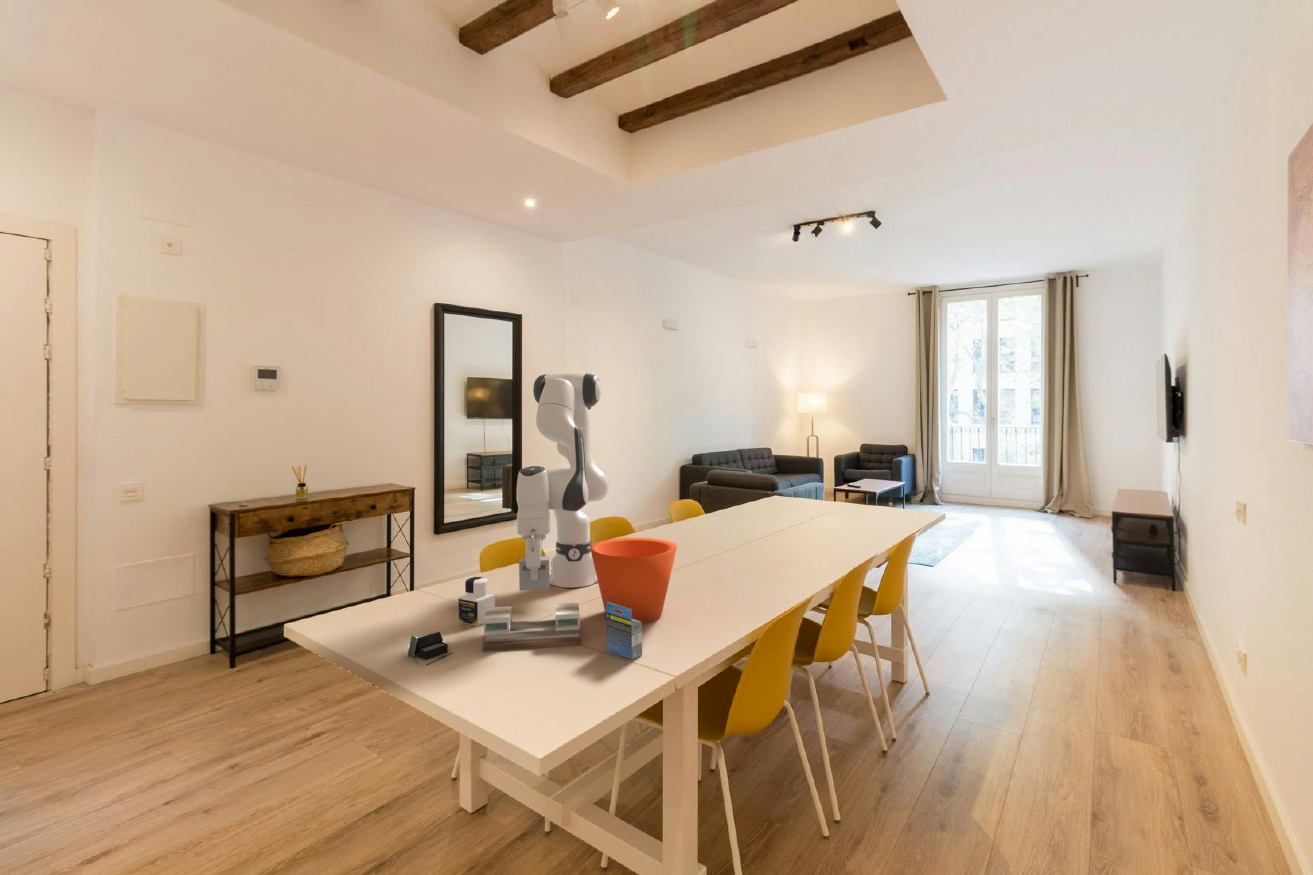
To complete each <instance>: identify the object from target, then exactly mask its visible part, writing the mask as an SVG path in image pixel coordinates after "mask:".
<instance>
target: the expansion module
mask: <svg viewBox="0 0 1313 875" xmlns="http://www.w3.org/2000/svg"><path fill="white" fill-rule="evenodd" d="M518 571H519V572H518V575H519V578H518V579H519V580H518V581H519V583H518V584H519V591H520V592H522V591H535V590H536V591H537V590H538V591H539V590H540V591H541V590H550V585H551V584H550V575H551V574H550V556H541V563H540V568H538V579H537V580H531V572H530V569H527V568H526V557H519V559H518Z"/></svg>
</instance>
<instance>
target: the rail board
mask: <svg viewBox="0 0 1313 875" xmlns="http://www.w3.org/2000/svg"><path fill="white" fill-rule="evenodd" d="M579 607H580V606H579V602H569V603H564V602H563V603H555V619H554V618H553V619H540V620H539V619H538V620H521V621H513V620H512V619H513V618H512V614H513V613H512V605H509V606H508V605H507V606H506V605H505V606H495V607H488V609H487V612H486V615H485V618H484V624H483V629H484V630H483V634H484V639H483V642H482V649H481V650H482V652H492V651H506V650H507V651H508V650H509V651H510V650H521V649H522V650H523V649H524V650H525V649H537V648H540V649H541V648H554V647H555V648H556V647H557V648H558V647H569V646H572V647H573V646H582V636H581V624H580V623H581V622H580V619H581V618H580V615H581V614H580V608H579Z"/></svg>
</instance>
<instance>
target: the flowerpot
mask: <svg viewBox="0 0 1313 875" xmlns="http://www.w3.org/2000/svg"><path fill="white" fill-rule="evenodd" d="M677 549H678V545H677V544H676V543H674V542H673V541H669V540H665V539H661V538H654V537H653V538H652V537H635V536H633V537H617V538H610V539H605V540H599V541H596V542H594V543H591V546H590V550H591V555H592V559H593V563H594V567H595V572H596V576H597V580H598V582H597V583H598V584H597V585H598V588H599V592H600V595H601V600H602V604H603V609H604V614H605V615H606V606H607V602H609V603H612V604H616V605H619V606H622V607H625V608H628V609H632V615H631V619H634V620H638V621H641V624H647V623H652V622H655V621H657V620H658V619H661V617H662V614H663V610H664V606H665V601H666V595H667V592H668V590H669V589H668V588H669V584H670V580H671V579H670V578H671V577H672V576H671V575H672V571H673V566H674V561H675V558H676V553H677ZM614 611H615V612H617V613H620V614H623V612H622V611H620V610H619V609H618V610H616V609H614ZM654 620H655V621H654Z"/></svg>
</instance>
